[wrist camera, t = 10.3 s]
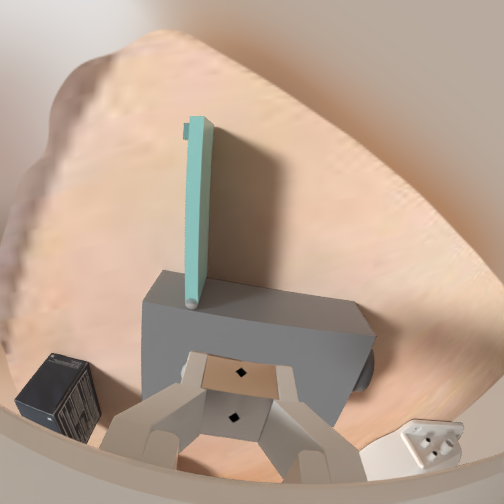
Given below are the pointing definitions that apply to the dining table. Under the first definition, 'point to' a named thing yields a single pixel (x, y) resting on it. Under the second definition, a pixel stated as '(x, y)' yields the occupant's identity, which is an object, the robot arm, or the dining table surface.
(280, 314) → the block
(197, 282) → the side door
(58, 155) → the dining table surface
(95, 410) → the small box
